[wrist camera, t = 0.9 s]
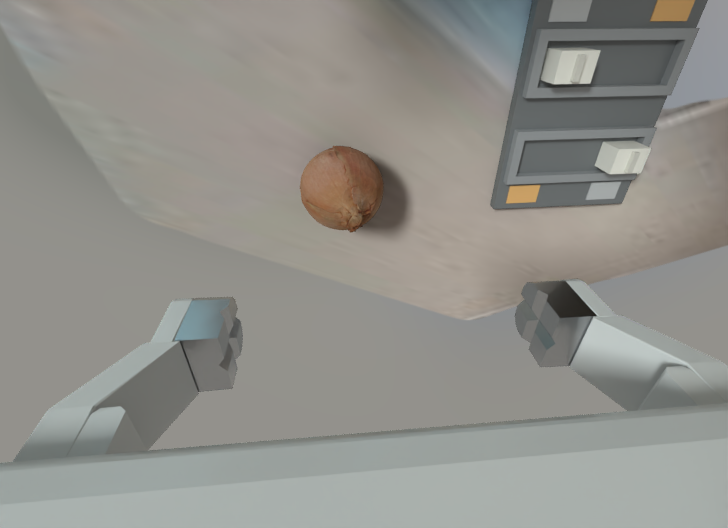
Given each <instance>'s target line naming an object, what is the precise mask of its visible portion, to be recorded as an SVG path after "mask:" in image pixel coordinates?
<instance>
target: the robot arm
mask: <svg viewBox="0 0 728 528" xmlns="http://www.w3.org/2000/svg"><path fill="white" fill-rule="evenodd" d="M521 294H522V296H523V298H524V300H523V301H522V302H521V303H520V304H519V305H518V306H517V310H516V313H515V322H516V327H517V330H518V332H519V334H520V335H521V337H522V338H524V339H525V340H527V341H528V342H530V347H529V350H530V352H531V353H532V355H533V356H534V358H535V360H536V361H537V363H538V365H539V366H540V367H555V366H570V368H571V369H572V370H574V371H575V372H576V373H578V374H579V375H580V376H582V377H583V378H585V379H586V380H587V381H588V382H590V383H591V384H592V385H594V386H595V387H596V388H598V389H599V390H601V391H602V392H603V393H604V394H606V395H607V396H608V397H610V398H611V399H612V400H614V401H615V402H616V403H618V404H619V405H620V406H622V407H623V408H624V409H626V410H627V411H625V412H613V413H600V414H590V415H589V414H588V415H576V416H564V417H552V418H539V419H527V420H515V421H504V422H492V423H491V422H490V423H479V424H467V425H454V426H442V427H430V428H418V429H405V430H394V431H381V432H369V433H357V434H344V435H333V436H322V437H321V436H320V437H308V438H296V439H284V440H273V441H259V442H247V443H235V444H223V445H212V446H199V447H186V448H174V449H162V450H150V451H148V450H149V448H150V447H151V446H152V445H153V444H154V443H155V442H156V441H157V439H158V438H159V437H160V436H161V435H162V434H163V433H164V432H165V431H166V430H167V428H168V427H169V426H170V425H171V424H172V423H173V422H174V421H175V419H176V418H177V417H178V416H179V415H180V414H181V413H182V412H183V411H184V410H185V408H186V407H187V406H188V405H189V404H190V403H191V402H192V401H193V400H194V399H195V397H196V396H197V395H198V394H199V393H198V392H203V391H212V390H224V389H232V388H233V385H234V380H235V376H236V372H237V365H236V360H235V359H237V358H238V357H239V356H240V354H241V350H242V342H243V341H242V340H243V333H242V326H241V322H240V320H239V319H237V318H236V313H237V309H238V308H237V304H236V301H235V299H234V298H233V297H217V298H216V297H215V298H214V297H213V298H195V299H194V298H188V299H175V300H173V301H172V302H171V303H170V305H169V307H168V309H167V311H166V313H165V315H164V317H163V319H162V321H161V323H160V325H159V327H158V329H157V330H156V332H155V334H154V336H153V338H152V340H151V342H150V343H144V344H142V345H141V346H139V347H138V348H137V349H135V350H134V351H132V352H131V353H129V354H128V355H126V356H125V357H124V358H122V359H121V360H119V361H118V362H116V363H115V364H114V365H112V366H111V367H109V368H108V369H106V370H105V371H103V372H102V373H100V374H99V375H98V376H96V377H95V378H93V379H92V380H90V381H89V382H88V383H86V384H85V385H83V386H82V387H80V388H79V389H77V390H76V391H75V392H73V393H72V394H70V395H69V396H67V397H66V398H65V399H63V400H62V401H60V402H59V403H57V404H56V405H54V406H53V407H51V408H50V409H49V410H48V411H47V412H46V413H45V415H44V416H43V418H42V419H41V421H40V422H39V424H38V425H37V427H36V428H35V430H34V431H33V432H32V434H31V435H30V437H29V439H28V440H27V441H26V443H25V444H24V446H23V447H22V449H21V450H20V451H19V453H18V455H17V456H16V457H15V459H14V460H13V462H5V463H0V528H728V366H727V365H725V364H724V363H723V362H722V361H719V360H717V359H715V358H713V357H711V356H709V355H706V354H704V353H702V352H700V351H698V350H696V349H694V348H692V347H689V346H687V345H685V344H683V343H681V342H679V341H676V340H674V339H672V338H670V337H668V336H666V335H664V334H662V333H659V332H657V331H655V330H653V329H651V328H648V327H647V326H644V325H642V324H640V323H638V322H636V321H634V320H631V319H629V318H627V317H625V316H623V315H618V316H617V315H616V314H615V313H614V312H613V311H612V310H611V309H610V308H609V307H608V306H607V305H606V304H605V303H604V302H603V301H602V300H601V299H600V298H599V297H598V296H597V295H596V293H595V292H594V291H593V290H592V289H591V288H590V287H589V286H588V285H587V284H586V283H585V282H584V281H582V280H580V279H569V280H561V281H545V282H527V283H526V284H525V286H524V287H523V290H522V293H521Z"/></svg>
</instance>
